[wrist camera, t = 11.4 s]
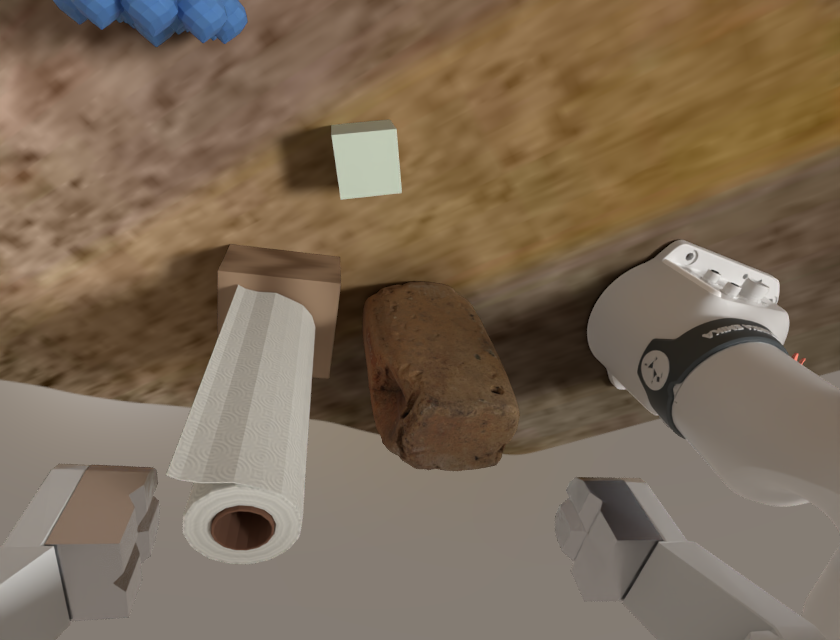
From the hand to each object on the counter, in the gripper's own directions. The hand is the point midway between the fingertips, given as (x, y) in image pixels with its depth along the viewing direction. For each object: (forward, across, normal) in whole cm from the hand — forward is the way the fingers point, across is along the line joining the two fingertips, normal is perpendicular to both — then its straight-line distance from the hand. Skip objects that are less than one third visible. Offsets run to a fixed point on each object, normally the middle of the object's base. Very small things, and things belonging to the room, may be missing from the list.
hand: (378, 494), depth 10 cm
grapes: (+39, +13, -8) cm, 42 cm away
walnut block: (+39, +4, +16) cm, 42 cm away
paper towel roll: (+33, +4, +15) cm, 37 cm away
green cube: (+39, -2, +1) cm, 39 cm away
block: (+39, -9, +16) cm, 43 cm away
